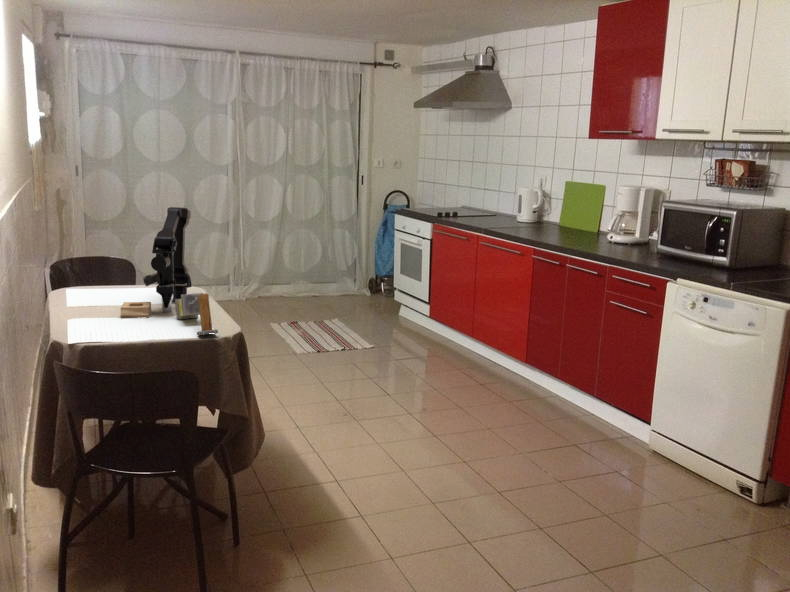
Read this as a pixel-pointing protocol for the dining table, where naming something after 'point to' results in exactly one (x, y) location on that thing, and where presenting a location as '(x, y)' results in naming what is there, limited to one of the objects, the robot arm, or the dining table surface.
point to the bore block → (135, 309)
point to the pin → (167, 310)
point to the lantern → (195, 310)
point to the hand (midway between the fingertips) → (166, 305)
